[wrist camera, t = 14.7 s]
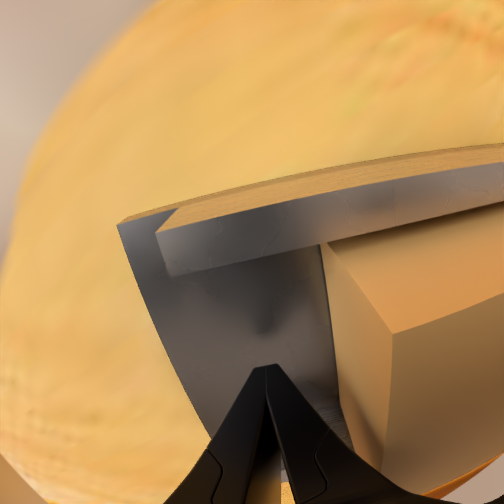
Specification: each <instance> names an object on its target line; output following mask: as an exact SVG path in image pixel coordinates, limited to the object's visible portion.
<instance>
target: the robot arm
mask: <svg viewBox="0 0 504 504" xmlns="http://www.w3.org/2000/svg"><path fill="white" fill-rule="evenodd" d="M281 456H282V460H283V463H284V467H285V470H286V473H287V477H288V480H289V484H290V487H291V491H292V494H293V497H294V501H295V504H460V503H454V502H449V501H444V500H439V499H435V498H430V497H426V496H422V495H418V494H414V493H411V492H408V491H406V490H404V489H402V488H401V487H399V486H397V485H396V484H395V483H393V482H392V481H390V480H389V479H388V478H386V477H385V476H384V475H383V474H381V473H380V472H379V471H377V470H376V469H375V468H373V467H372V466H371V465H370V464H368V463H367V462H366V461H365V460H363V459H362V458H361V457H360V456H359V455H357V454H356V453H355V452H354V451H353V450H352V449H351V448H350V447H349V446H348V445H347V444H346V443H345V442H344V441H343V440H342V439H341V438H340V437H339V436H338V435H337V434H336V432H335V431H334V430H333V429H331V427H330V426H329V425H328V423H327V422H326V421H325V420H324V419H323V418H322V416H321V415H320V414H319V413H318V412H317V410H316V409H315V408H314V407H313V406H312V404H311V403H310V402H309V401H308V400H307V398H306V397H305V396H304V395H303V394H302V392H301V391H300V390H299V389H298V388H297V386H296V385H295V384H294V383H293V382H292V380H291V379H290V378H289V377H288V375H287V374H286V373H285V372H284V370H283V369H282V368H281V367H280V366H279V364H277V363H275V364H270V365H266V366H260V367H255V368H253V370H252V371H251V373H250V375H249V377H248V378H247V380H246V382H245V384H244V385H243V387H242V389H241V391H240V392H239V394H238V396H237V397H236V399H235V401H234V403H233V404H232V406H231V408H230V409H229V411H228V413H227V414H226V416H225V418H224V419H223V421H222V423H221V424H220V426H219V428H218V429H217V431H216V433H215V434H214V436H213V438H212V439H211V441H210V442H209V444H208V446H207V449H205V450H204V452H203V454H202V455H201V457H200V458H199V460H198V461H197V463H196V464H195V466H194V467H193V469H192V470H191V471H190V473H189V474H188V475H187V476H186V478H185V479H184V480H183V481H182V483H181V484H180V485H179V486H178V487H177V489H176V490H175V491H174V492H173V493H172V494H171V495H170V497H169V498H168V499H167V500H166V501H165V502H164V503H163V504H281ZM484 504H504V495H502V496H500V497H499V498H497V499H495V500H493V501H491V502H488V503H484Z"/></svg>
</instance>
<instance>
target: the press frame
mask: <svg viewBox="0 0 504 504" xmlns="http://www.w3.org/2000/svg"><path fill="white" fill-rule="evenodd" d="M500 201H504V143H501V144H490V145H479V146H470V147H461V148H452V149H444V150H436V151H429V152H421V153H414V154H407V155H401V156H394V157H388V158H382V159H376V160H370V161H364V162H358V163H352V164H347V165H341V166H336V167H331V168H325V169H320V170H315V171H310V172H305V173H300V174H296V175H291V176H286V177H282V178H277V179H272V180H268V181H263V182H259V183H255V184H250V185H246V186H242V187H238V188H234V189H229V190H225V191H221V192H217V193H213V194H209V195H205V196H201V197H198V198H194V199H190V200H186V201H183V202H179V203H175V204H171V205H168V206H164V207H161V208H157V209H154V210H150V211H147V212H143V213H140V214H136V215H133V216H130V217H127V218H126V219H124V220H123V221H122V222H120V223H119V224H117V228H118V231H119V234H120V237H121V240H122V243H123V246H124V249H125V252H126V254H127V257H128V260H129V263H130V265H131V268H132V271H133V274H134V276H135V279H136V281H137V284H138V287H139V289H140V292H141V294H142V297H143V299H144V302H145V304H146V306H147V309H148V311H149V314H150V316H151V318H152V321H153V323H154V325H155V328H156V330H157V332H158V335H159V337H160V339H161V341H162V344H163V346H164V348H165V350H166V352H167V354H168V357H169V359H170V361H171V363H172V365H173V367H174V369H175V371H176V373H177V375H178V377H179V379H180V381H181V383H182V385H183V387H184V389H185V391H186V393H187V395H188V397H189V399H190V401H191V403H192V405H193V407H194V409H195V411H196V412H197V414H198V416H199V418H200V420H201V422H202V423H203V425H204V427H205V429H206V431H207V432H208V434H209V436H210V438H211V439H212V438H213V436H214V434H215V433H216V431H217V429H218V428H219V426H220V424H221V423H222V421H223V419H224V418H225V416H226V414H227V413H228V411H229V409H230V408H231V406H232V404H233V403H234V401H235V399H236V397H237V396H238V394H239V392H240V391H241V389H242V387H243V385H244V384H245V382H246V380H247V378H248V377H249V375H250V373H251V371H252V370H253V368H255V367H260V366H266V365H270V364H275V363H277V364H279V366H280V367H281V368H282V369H283V370H284V372H285V373H286V374H287V375H288V377H289V378H290V379H291V380H292V382H293V383H294V384H295V385H296V386H297V388H298V389H299V390H300V391H301V392H302V394H303V395H304V396H305V397H306V398H307V400H308V401H309V402H310V403H311V404H312V406H313V407H314V408H315V409H316V410H317V412H318V413H319V414H320V415H321V416H322V418H323V419H324V420H325V421H326V422H327V423H328V425H329V426H330V427H331V429H333V430H334V431H335V432H336V434H337V435H338V436H339V437H340V438H341V439H342V440H343V441H344V442H345V443H346V444H347V445H348V446H349V447H350V448H351V449H352V450H353V451H354V452H355V449H354V446H353V443H352V440H351V436H350V433H349V430H348V427H347V424H346V420H345V417H344V414H343V411H342V408H341V405H340V397H339V386H338V375H337V365H336V356H335V347H334V338H333V330H332V322H331V314H330V306H329V299H328V292H327V285H326V278H325V272H324V265H323V259H322V253H321V246H320V244H321V243H326V242H330V241H334V240H339V239H343V238H347V237H352V236H356V235H360V234H365V233H369V232H373V231H378V230H382V229H386V228H391V227H395V226H399V225H403V224H408V223H412V222H416V221H420V220H425V219H429V218H433V217H437V216H442V215H446V214H450V213H454V212H458V211H463V210H467V209H471V208H475V207H479V206H483V205H488V204H492V203H496V202H500ZM282 482H289V480H288V477H287V473H286V470H285V467H284V463H283V460H282V456H281V483H282Z"/></svg>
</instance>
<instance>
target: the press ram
mask: <svg viewBox="0 0 504 504" xmlns="http://www.w3.org/2000/svg"><path fill="white" fill-rule="evenodd" d="M320 246H321V253H322V259H323V265H324V272H325V278H326V285H327V292H328V299H329V306H330V314H331V322H332V330H333V338H334V347H335V356H336V365H337V375H338V386H339V397H340V405H341V408H342V411H343V414H344V417H345V420H346V424H347V427H348V430H349V433H350V436H351V440H352V443H353V446H354V449H355V453H356V454H357V455H359V456H360V457H361V458H362V459H363V460H365V461H366V462H367V463H368V464H370V465H371V466H372V467H373V468H375V469H376V470H377V471H379V472H380V473H381V474H383V475H384V476H385V477H386V478H388V479H389V480H390V481H392V482H393V483H395V484H396V485H397V486H399V487H401V488H402V489H404V490H406V491H408V492H411V493H414V494H418V495H420V494H423V493H425V492H428V491H430V490H432V489H435V488H437V487H439V486H441V485H443V484H446V483H448V482H450V481H452V480H454V479H456V478H458V477H460V476H462V475H464V474H466V473H468V472H470V471H471V470H473V469H475V468H477V467H479V466H480V465H482V464H484V463H486V462H487V461H489V460H491V459H493V458H494V457H496V456H497V455H499V454H501V453H502V452H504V201H500V202H496V203H492V204H488V205H483V206H479V207H475V208H471V209H467V210H463V211H458V212H454V213H450V214H446V215H442V216H437V217H433V218H429V219H425V220H420V221H416V222H412V223H408V224H403V225H399V226H395V227H391V228H386V229H382V230H378V231H373V232H369V233H365V234H360V235H356V236H352V237H347V238H343V239H339V240H334V241H330V242H326V243H321V244H320Z"/></svg>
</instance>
